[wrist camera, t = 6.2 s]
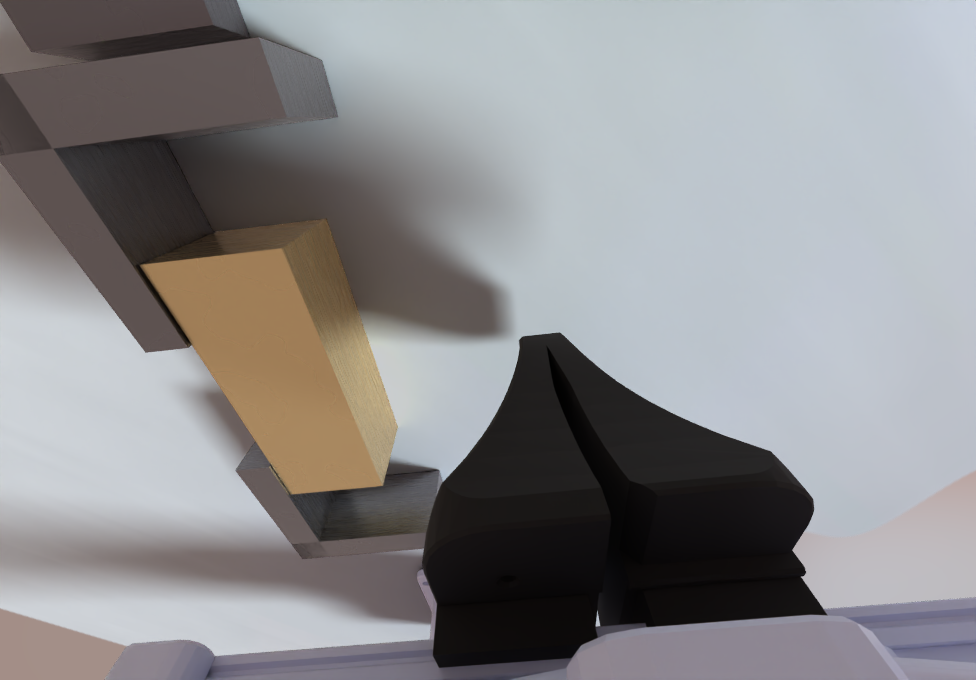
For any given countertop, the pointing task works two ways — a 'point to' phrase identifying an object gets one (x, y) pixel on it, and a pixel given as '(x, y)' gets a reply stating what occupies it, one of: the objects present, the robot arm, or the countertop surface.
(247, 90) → the chain end blocks
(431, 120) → the countertop surface
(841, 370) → the countertop surface
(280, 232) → the light wood block
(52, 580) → the countertop surface
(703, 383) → the countertop surface
